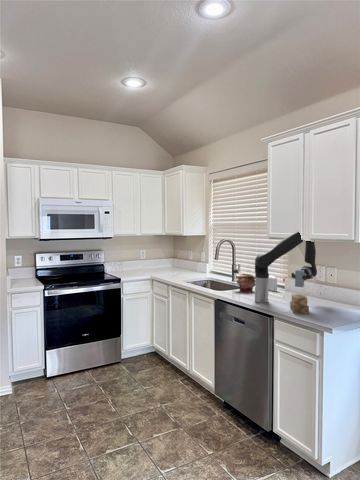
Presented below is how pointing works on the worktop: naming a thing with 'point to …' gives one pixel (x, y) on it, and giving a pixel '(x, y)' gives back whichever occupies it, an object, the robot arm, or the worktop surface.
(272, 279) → the photo printer
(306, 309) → the block lower
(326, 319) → the worktop surface
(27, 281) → the worktop surface
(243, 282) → the decorative planter
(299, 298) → the block upper
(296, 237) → the robot arm
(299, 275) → the tall block
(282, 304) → the worktop surface
